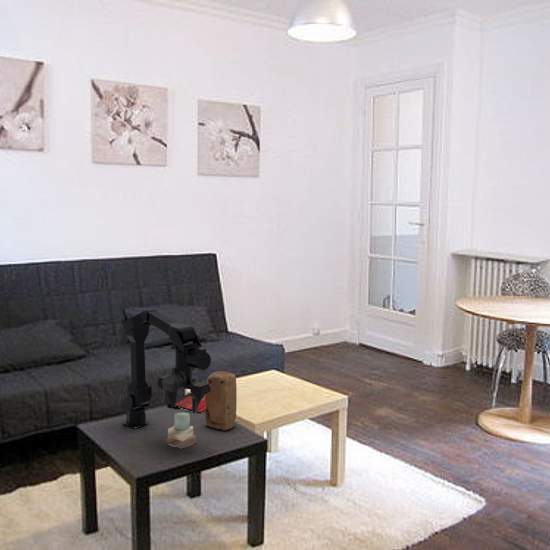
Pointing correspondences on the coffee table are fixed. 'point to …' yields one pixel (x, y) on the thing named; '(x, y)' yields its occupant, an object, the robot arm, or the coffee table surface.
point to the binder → (189, 403)
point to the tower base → (182, 443)
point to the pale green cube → (182, 421)
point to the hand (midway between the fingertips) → (183, 409)
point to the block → (221, 400)
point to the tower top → (180, 433)
